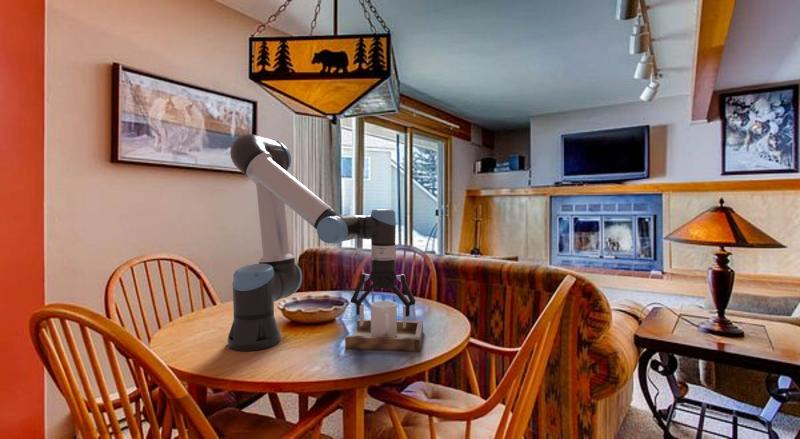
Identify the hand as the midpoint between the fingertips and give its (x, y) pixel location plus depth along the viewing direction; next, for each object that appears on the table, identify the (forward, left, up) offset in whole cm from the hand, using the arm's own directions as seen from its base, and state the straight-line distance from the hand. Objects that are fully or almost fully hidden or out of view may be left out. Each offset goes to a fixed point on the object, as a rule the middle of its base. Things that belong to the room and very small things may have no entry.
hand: (382, 325), depth 126 cm
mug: (+1, 0, -4) cm, 4 cm away
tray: (+1, 0, -4) cm, 5 cm away
